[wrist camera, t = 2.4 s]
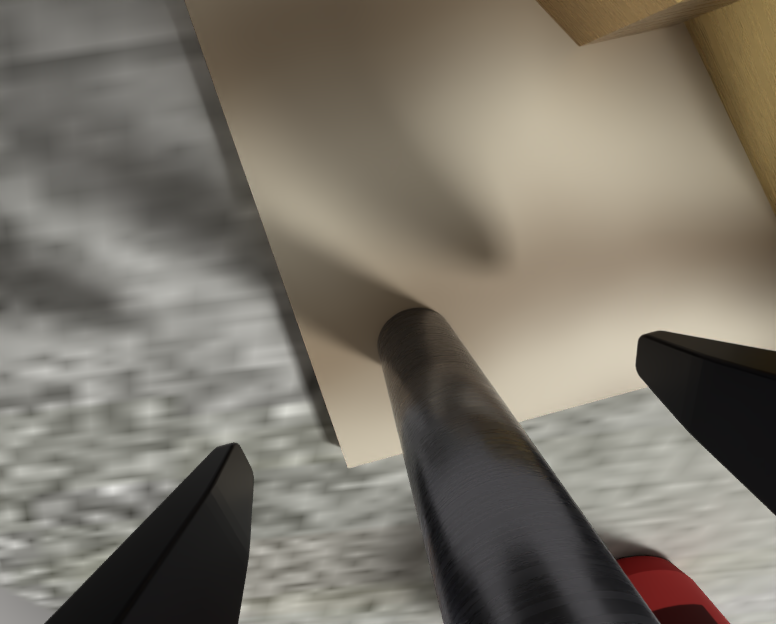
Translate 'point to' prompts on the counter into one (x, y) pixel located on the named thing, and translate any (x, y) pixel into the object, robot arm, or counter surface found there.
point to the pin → (491, 495)
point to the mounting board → (488, 193)
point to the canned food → (670, 592)
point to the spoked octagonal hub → (703, 56)
